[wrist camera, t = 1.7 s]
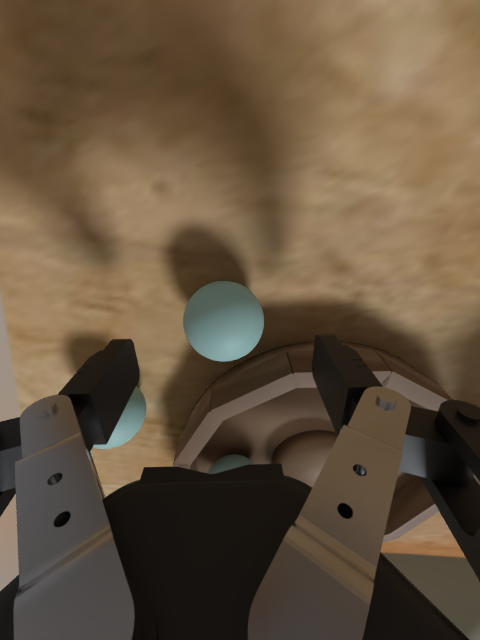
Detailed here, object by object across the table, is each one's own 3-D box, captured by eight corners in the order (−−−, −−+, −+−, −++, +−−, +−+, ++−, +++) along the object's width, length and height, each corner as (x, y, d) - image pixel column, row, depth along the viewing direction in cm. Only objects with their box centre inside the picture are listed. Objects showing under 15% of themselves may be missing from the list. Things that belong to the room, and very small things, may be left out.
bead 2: (186, 271, 14) (170, 300, 11) (261, 269, 14) (269, 298, 11) (193, 336, 16) (181, 379, 13) (260, 335, 16) (266, 377, 13)
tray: (169, 343, 16) (156, 375, 14) (480, 338, 17) (527, 368, 14) (195, 518, 25) (190, 558, 22) (400, 514, 25) (420, 553, 23)
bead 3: (204, 442, 19) (197, 502, 15) (262, 441, 19) (267, 500, 16) (208, 477, 21) (202, 539, 17) (260, 476, 21) (265, 537, 17)
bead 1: (85, 365, 17) (45, 413, 14) (148, 364, 17) (125, 411, 14) (100, 411, 19) (69, 465, 15) (157, 410, 19) (139, 463, 15)
